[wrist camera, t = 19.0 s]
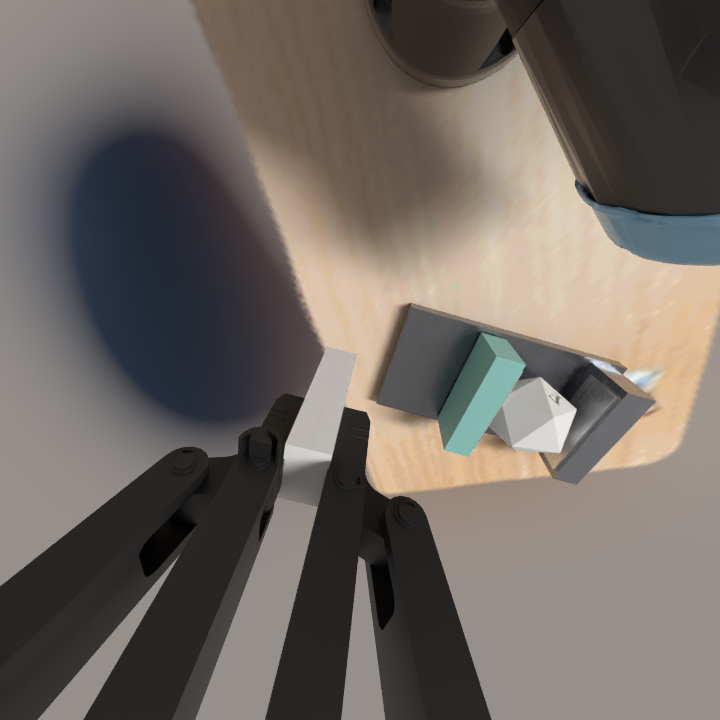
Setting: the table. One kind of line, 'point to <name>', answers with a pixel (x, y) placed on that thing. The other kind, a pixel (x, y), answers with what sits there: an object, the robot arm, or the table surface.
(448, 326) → the vise base
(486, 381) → the bar
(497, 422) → the die
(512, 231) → the table surface
